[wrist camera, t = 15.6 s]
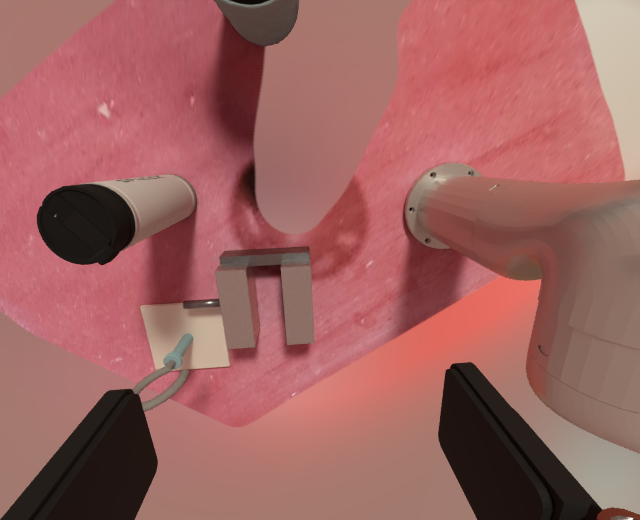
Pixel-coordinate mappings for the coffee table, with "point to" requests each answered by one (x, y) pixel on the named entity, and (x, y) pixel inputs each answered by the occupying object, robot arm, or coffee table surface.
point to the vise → (242, 296)
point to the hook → (171, 363)
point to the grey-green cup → (261, 18)
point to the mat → (175, 321)
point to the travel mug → (111, 215)
